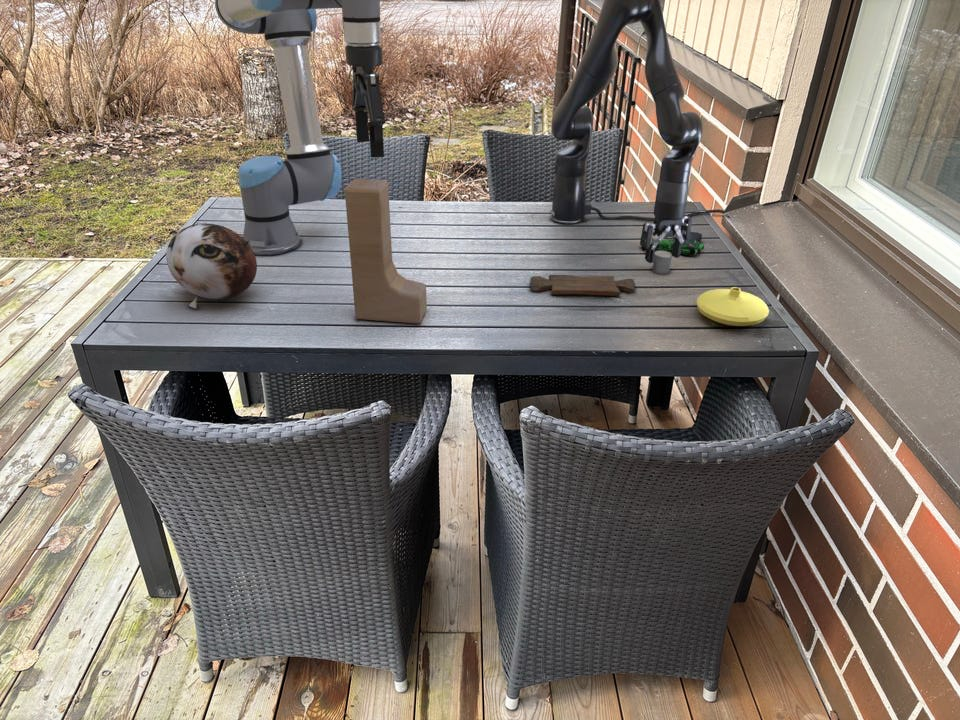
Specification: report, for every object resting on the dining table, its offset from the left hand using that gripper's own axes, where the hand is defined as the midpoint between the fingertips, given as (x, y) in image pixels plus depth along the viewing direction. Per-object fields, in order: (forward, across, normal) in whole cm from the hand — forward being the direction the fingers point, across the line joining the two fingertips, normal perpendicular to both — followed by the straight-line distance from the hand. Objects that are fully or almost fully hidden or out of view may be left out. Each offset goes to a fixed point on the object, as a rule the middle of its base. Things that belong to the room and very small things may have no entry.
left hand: (370, 149), depth 157 cm
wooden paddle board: (+34, -16, -47) cm, 60 cm away
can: (+34, -13, -72) cm, 80 cm away
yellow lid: (+34, -42, -72) cm, 89 cm away
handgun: (+34, 0, -85) cm, 91 cm away
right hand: (+30, -14, -71) cm, 79 cm away
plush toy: (+34, +8, +37) cm, 51 cm away
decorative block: (+34, -15, +1) cm, 37 cm away
